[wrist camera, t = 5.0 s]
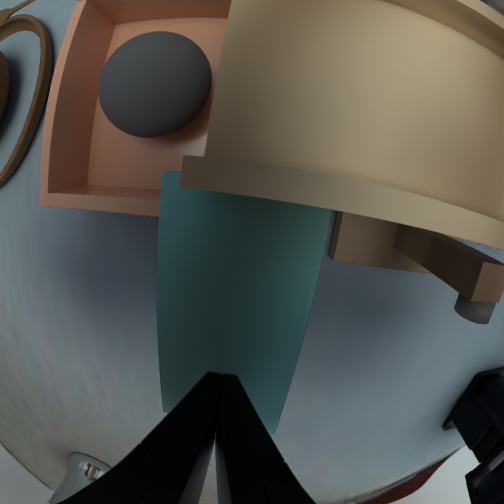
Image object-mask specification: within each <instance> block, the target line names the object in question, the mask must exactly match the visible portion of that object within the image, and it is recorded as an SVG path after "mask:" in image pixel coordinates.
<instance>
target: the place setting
mask: <svg viewBox="0 0 504 504" xmlns="http://www.w3.org/2000/svg"><path fill="white" fill-rule="evenodd" d="M33 1H35V0H27V1H25V2H23V3H21V4H20V5H18V6H16V7H14V8H12V9H4V10H2V11H0V42H1V41H2V40H3V39H5V38H6V37H8V36H9V35H11V34H13V33H16V32H18V31H23V30H26V31H32V32H34V33H36V34H37V35H38V36H39V37H40V45H41V56H40V66H39V74H38V79H37V84H36V88H35V92H34V96H33V100H32V103H31V106H30V110H29V113H28V116H27V119H26V122H25V124H24V127H23V130H22V132H21V135H20V137H19V140H18V142H17V144H16V146H15V149H14V151H13V153H12V155H11V157H10V158H9V160H8V162H7V164H6V166H5V167H4V169H3V170H2V172H1V173H0V186H1V185H2V184H3V183H4V182H5V181H6V180H7V179H8V178H9V176H10V175H11V174H12V173H13V171H14V170H15V168H16V167H17V166H18V164H19V163H20V161H21V159H22V157H23V156H24V154H25V152H26V150H27V148H28V146H29V144H30V142H31V140H32V138H33V135H34V133H35V130H36V128H37V125H38V123H39V120H40V117H41V114H42V111H43V108H44V104H45V101H46V97H47V93H48V89H49V83H50V78H51V69H52V46H51V40H50V36H49V33H48V31H47V29H46V27H45V26H44V25H43V24H42V23H41V21H40V20H38V19H36V18H35V17H33V16H31V15H27V14H22V15H16V16H13V17H11V18H9V17H10V16H11V15H12V14H13V13H14V12H15V11H17V10H19V9H20V8H22V7H24V6H26V5H28V4H30V3H31V2H33ZM8 18H9V19H8ZM9 94H10V83H9V67H8V63H7V60H6V58H5V56H4V54H3V53H2V52H1V51H0V121H1V119H2V117H3V115H4V112H5V110H6V107H7V104H8V100H9Z"/></svg>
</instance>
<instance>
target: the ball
mask: <svg viewBox="0 0 504 504" xmlns="http://www.w3.org/2000/svg"><path fill="white" fill-rule="evenodd" d="M211 86H212V72H211V67H210V64H209V61H208V59H207V57H206V55H205V53H204V52H203V51H202V49H201V48H200V47H199V46H198V45H197V44H196V43H195V42H193V41H192V40H191V39H189V38H187V37H185V36H183V35H181V34H178V33H173V32H169V31H154V32H148V33H144V34H140V35H138V36H135V37H133V38H131V39H130V40H128V41H126V42H125V43H123V44H122V45H121V46H120V47H118V48H117V49H116V50H115V51H114V52H113V54H112V55H111V56H110V57H109V59H108V60H107V62H106V64H105V65H104V67H103V69H102V72H101V75H100V79H99V87H98V94H99V101H100V105H101V108H102V110H103V112H104V114H105V115H106V117H107V118H108V120H109V121H110V122H111V123H112V124H113V125H114V126H115V127H117V128H118V129H119V130H121V131H123V132H125V133H127V134H129V135H132V136H136V137H141V138H157V137H162V136H167V135H170V134H172V133H175V132H177V131H179V130H181V129H182V128H184V127H185V126H187V125H188V124H189V123H191V122H192V121H193V120H194V119H195V118H196V117H197V116H198V115H199V113H200V112H201V111H202V109H203V108H204V106H205V104H206V102H207V100H208V97H209V95H210V91H211Z"/></svg>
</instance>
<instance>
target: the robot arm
mask: <svg viewBox="0 0 504 504" xmlns="http://www.w3.org/2000/svg"><path fill="white" fill-rule="evenodd" d="M221 379H222V380H221ZM216 425H217V426H216ZM442 428H443V430H444V431H447V430H450V429H453V428H457V430H458V432H459V433H460V435H461V437H462V438H463V440H464V442H465V443H466V445H467V446H468V448H469V449H470V450H472V451H473V453H474V455H475V457H476V458H477V460H478V462H479V463H481V462H482V463H481V464H479V465H478V466H477V467H476V468H475V469H474V470H472V471H470V472H469V473H467V474H466V475H465V478H466V482H467V483H466V484H467V489H468V492H469V497H470V501H471V504H504V368H500V369H496V370H492V371H488V372H483V373H480V374H478V375H477V376H476V377H475V378H474V380H473V382H472V383H471V385H470V387H469V388H468V390H467V391H466V393H465V395H464V396H463V398H462V399H461V401H460V402H459V404H458V405H457V407H456V408H455V410H454V411H453V412H452V414H451V415H450V417H449V418H448V419H447V421H446V422H445V423H444V425H443V426H442ZM215 435H216V437H215ZM214 442H215V456H216V475H217V492H218V504H316V503H315V502H314V500H313V499H312V498H311V497H310V496H309V494H308V493H307V492H306V491H305V490H304V488H303V487H302V486H301V484H300V483H299V481H298V480H297V479H296V477H295V476H294V474H293V473H292V471H291V469H290V468H289V466H288V465H287V463H286V462H284V461H285V460H284V458H283V457H282V455H281V453H280V452H279V450H278V448H277V447H276V445H275V443H274V441H273V440H272V438H271V436H270V434H269V433H268V431H267V429H266V427H265V426H264V424H263V422H262V420H261V419H260V417H259V415H258V413H257V411H256V410H255V408H254V406H253V404H252V402H251V400H250V398H249V397H248V395H247V393H246V391H245V389H244V387H243V385H242V383H241V381H240V379H239V378H238V376H237V375H235V374H227V373H224V374H221V373H219V372H212V371H208V372H206V373H205V374H204V376H203V377H202V378H201V379H200V380H199V381H198V382H197V383H196V384H195V385H194V386H193V388H192V389H191V390H190V391H189V392H188V393H187V394H186V395H185V396H184V397H183V398H182V399H181V401H180V402H179V403H178V404H177V405H176V406H175V407H174V408H173V409H172V410H171V411H170V412H169V413H168V414H167V415H166V416H165V417H164V418H163V420H162V421H161V422H160V423H159V424H158V425H157V426H156V427H155V428H154V429H153V430H152V431H151V432H150V433H149V434H148V435H147V436H146V437H145V438H144V439H143V440H142V441H141V444H138V445H137V446H136V447H135V448H134V449H133V450H132V451H131V452H130V453H129V454H128V455H127V456H125V457H124V458H123V459H122V460H121V461H120V462H119V463H118V464H116V465H115V466H114V467H113V468H111V469H110V470H109V471H107V472H106V473H105V474H103V475H102V476H100V477H99V478H97V479H96V480H94V481H93V482H92V483H90V484H89V485H87V486H86V487H84V488H82V489H81V490H79V491H78V492H76V493H75V494H73V495H72V496H70V497H68V498H67V499H65V500H63V501H61V502H58V503H56V504H198V503H199V499H200V495H201V492H202V488H203V484H204V480H205V477H206V473H207V469H208V465H209V462H210V458H211V454H212V450H213V446H214Z"/></svg>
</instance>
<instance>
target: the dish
mask: <svg viewBox="0 0 504 504" xmlns="http://www.w3.org/2000/svg"><path fill="white" fill-rule="evenodd" d="M231 2H232V0H78V1H77V4H76V6H75V8H74V11H73V14H72V16H71V19H70V21H69V24H68V27H67V30H66V33H65V36H64V39H63V42H62V45H61V48H60V52H59V55H58V59H57V62H56V66H55V70H54V74H53V78H52V83H51V87H50V92H49V97H48V102H47V108H46V114H45V120H44V128H43V136H42V145H41V156H40V172H39V206H49V207H62V208H73V209H85V210H95V211H106V212H116V213H126V214H136V215H146V216H155V217H159V208H160V195H161V183H162V172H163V171H181V168H182V159H183V155H191V156H203V157H204V156H205V148H206V141H207V134H208V126H209V120H210V113H211V106H212V100H213V94H214V88H215V82H216V76H217V70H218V65H219V59H220V54H221V49H222V44H223V39H224V34H225V29H226V24H227V20H228V15H229V11H230V6H231ZM154 31H169V32H173V33H178V34H181V35H183V36H185V37H187V38H189V39H191V40H192V41H193V42H195V43H196V44H197V45H198V46H199V47H200V48H201V49H202V51H203V52H204V53H205V55H206V57H207V59H208V61H209V64H210V67H211V72H212V86H211V91H210V95H209V97H208V100H207V102H206V104H205V106H204V108H203V109H202V111H201V112H200V113H199V115H198V116H197V117H196V118H195V119H194V120H193V121H192V122H191V123H189V124H188V125H187V126H185V127H184V128H182V129H181V130H179V131H177V132H175V133H172V134H170V135H167V136H162V137H157V138H141V137H136V136H132V135H129V134H127V133H125V132H123V131H121V130H119V129H118V128H117V127H115V126H114V125H113V124H112V123H111V122H110V121H109V120H108V118H107V117H106V115H105V114H104V112H103V110H102V108H101V105H100V101H99V94H98V87H99V79H100V75H101V72H102V69H103V67H104V65H105V64H106V62H107V60H108V59H109V57H110V56H111V55H112V54H113V52H114V51H115V50H116V49H117V48H118V47H120V46H121V45H122V44H123V43H125V42H126V41H128V40H130V39H131V38H133V37H135V36H138V35H140V34H144V33H148V32H154Z"/></svg>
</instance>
